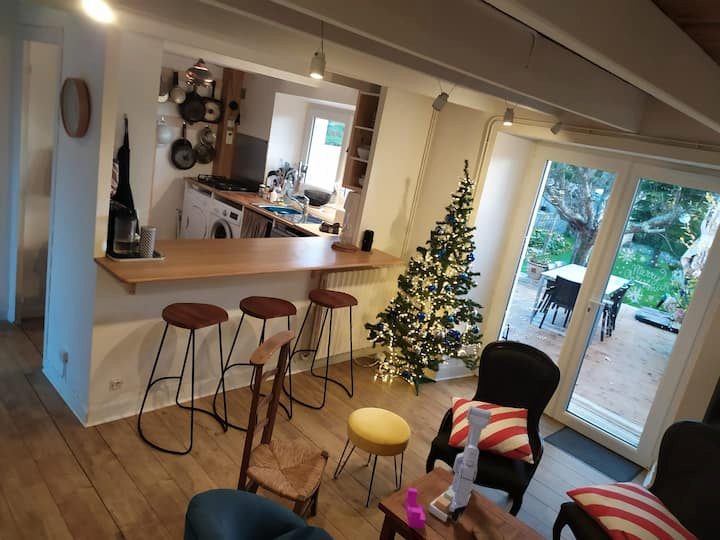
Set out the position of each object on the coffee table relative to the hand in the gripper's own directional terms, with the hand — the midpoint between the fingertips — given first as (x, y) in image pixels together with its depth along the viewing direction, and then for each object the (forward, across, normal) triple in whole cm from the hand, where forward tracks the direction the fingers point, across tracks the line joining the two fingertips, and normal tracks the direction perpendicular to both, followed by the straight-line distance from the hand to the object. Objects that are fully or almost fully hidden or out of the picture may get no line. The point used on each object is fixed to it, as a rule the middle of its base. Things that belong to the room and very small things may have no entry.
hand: (456, 517), depth 225 cm
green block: (+2, -7, -8) cm, 11 cm away
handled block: (+2, 0, -4) cm, 4 cm away
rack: (+2, -4, -7) cm, 8 cm away
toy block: (+2, +12, -14) cm, 18 cm away
